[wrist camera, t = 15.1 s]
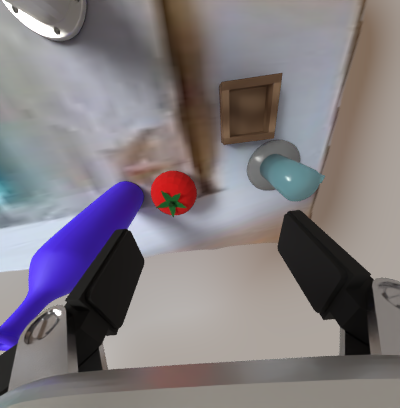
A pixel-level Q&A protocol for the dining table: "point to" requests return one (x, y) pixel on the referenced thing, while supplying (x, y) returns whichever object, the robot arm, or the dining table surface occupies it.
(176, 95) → the dining table surface
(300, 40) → the dining table surface
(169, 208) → the tomato
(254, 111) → the cradle
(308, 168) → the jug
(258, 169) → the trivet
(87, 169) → the dining table surface
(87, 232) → the bottle
